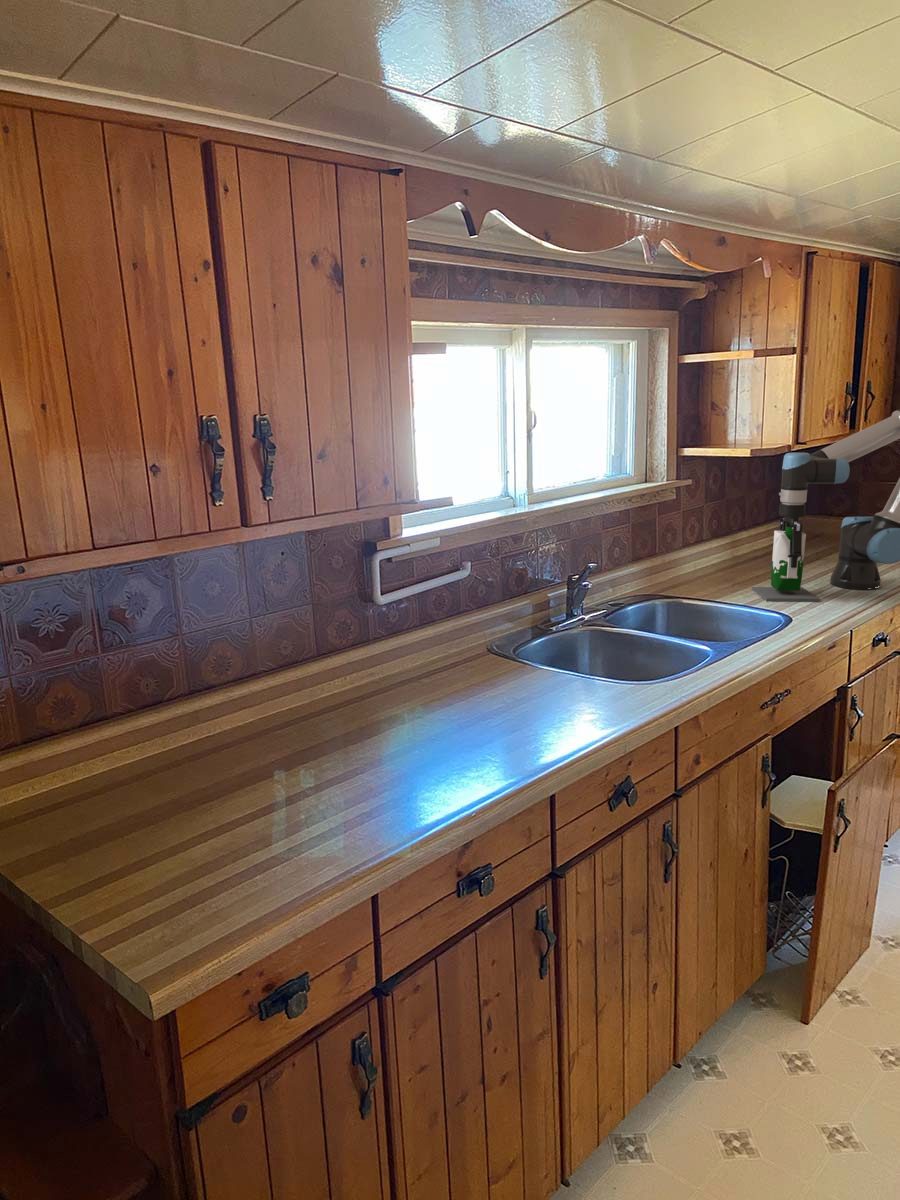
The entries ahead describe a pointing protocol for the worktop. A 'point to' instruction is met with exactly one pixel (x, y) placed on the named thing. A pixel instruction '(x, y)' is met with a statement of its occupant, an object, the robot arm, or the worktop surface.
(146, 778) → the worktop surface
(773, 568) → the soya milk
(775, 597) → the charcoal mat
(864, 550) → the robot arm
